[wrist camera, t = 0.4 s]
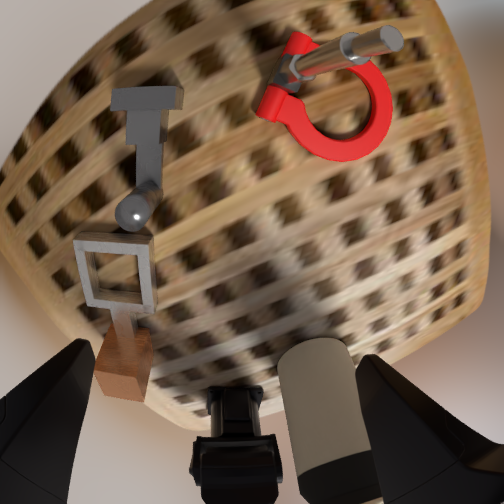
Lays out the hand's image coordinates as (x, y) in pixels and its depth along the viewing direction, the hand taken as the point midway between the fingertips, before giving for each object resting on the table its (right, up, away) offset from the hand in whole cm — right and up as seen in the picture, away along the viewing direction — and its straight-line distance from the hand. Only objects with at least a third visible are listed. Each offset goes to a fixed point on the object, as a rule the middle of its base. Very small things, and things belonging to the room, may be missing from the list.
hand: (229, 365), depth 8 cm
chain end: (-11, -1, +15) cm, 18 cm away
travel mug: (+7, -8, +21) cm, 23 cm away
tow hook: (+6, +14, +9) cm, 18 cm away
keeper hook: (-6, +10, +9) cm, 15 cm away
